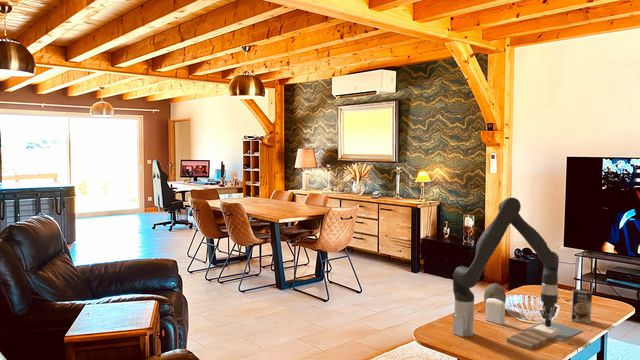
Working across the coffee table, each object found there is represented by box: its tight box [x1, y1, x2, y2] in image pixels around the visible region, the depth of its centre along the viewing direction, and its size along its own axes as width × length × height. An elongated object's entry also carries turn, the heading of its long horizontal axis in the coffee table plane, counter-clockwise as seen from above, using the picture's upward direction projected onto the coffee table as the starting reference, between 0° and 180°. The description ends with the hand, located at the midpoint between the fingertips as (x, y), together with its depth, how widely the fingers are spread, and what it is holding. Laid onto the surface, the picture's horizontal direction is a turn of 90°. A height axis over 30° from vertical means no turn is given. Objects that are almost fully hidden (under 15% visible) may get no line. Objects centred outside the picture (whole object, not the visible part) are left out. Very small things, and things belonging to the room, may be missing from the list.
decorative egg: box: [483, 282, 506, 305], centre depth 295 cm, size 12×12×15 cm
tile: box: [533, 324, 559, 337], centre depth 257 cm, size 8×9×2 cm
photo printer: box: [484, 298, 506, 325], centre depth 274 cm, size 10×4×12 cm, turn 39°
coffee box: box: [570, 288, 593, 324], centre depth 277 cm, size 9×6×16 cm
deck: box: [506, 329, 554, 351], centre depth 249 cm, size 20×12×2 cm, turn 128°
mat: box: [523, 321, 583, 343], centre depth 262 cm, size 22×19×1 cm
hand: (548, 326), depth 259 cm, fingers closed
